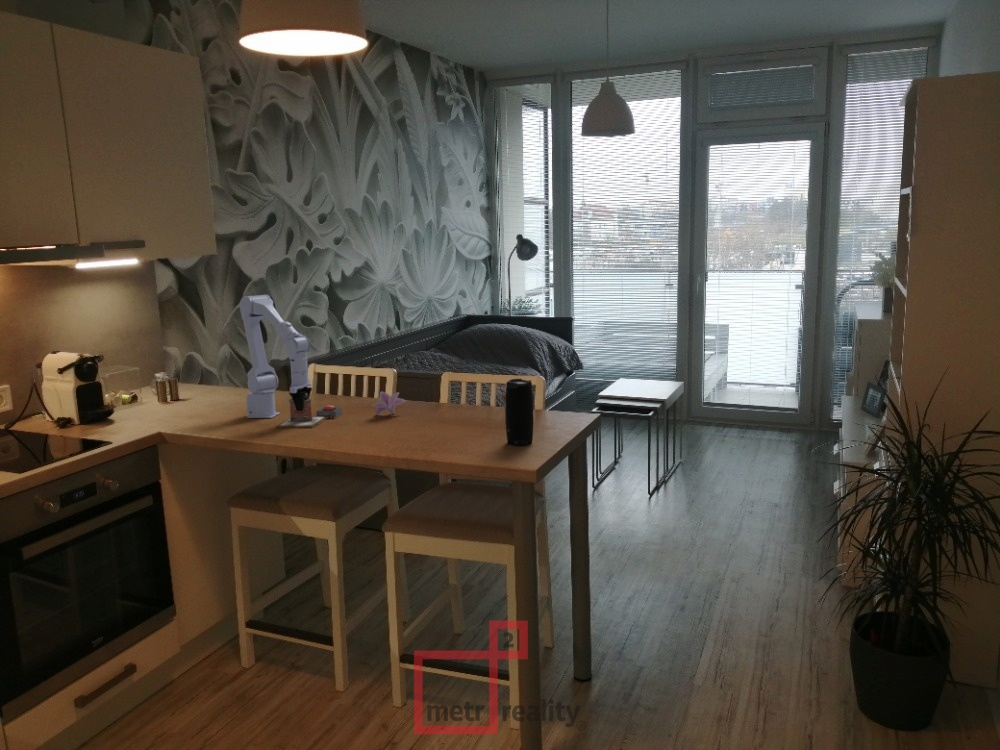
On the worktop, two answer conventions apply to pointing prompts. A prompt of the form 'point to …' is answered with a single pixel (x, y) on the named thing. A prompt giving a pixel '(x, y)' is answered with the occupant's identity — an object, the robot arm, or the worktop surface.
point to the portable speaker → (519, 412)
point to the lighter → (301, 415)
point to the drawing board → (302, 424)
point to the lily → (387, 403)
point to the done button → (329, 407)
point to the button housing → (330, 412)
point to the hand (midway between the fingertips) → (301, 409)
